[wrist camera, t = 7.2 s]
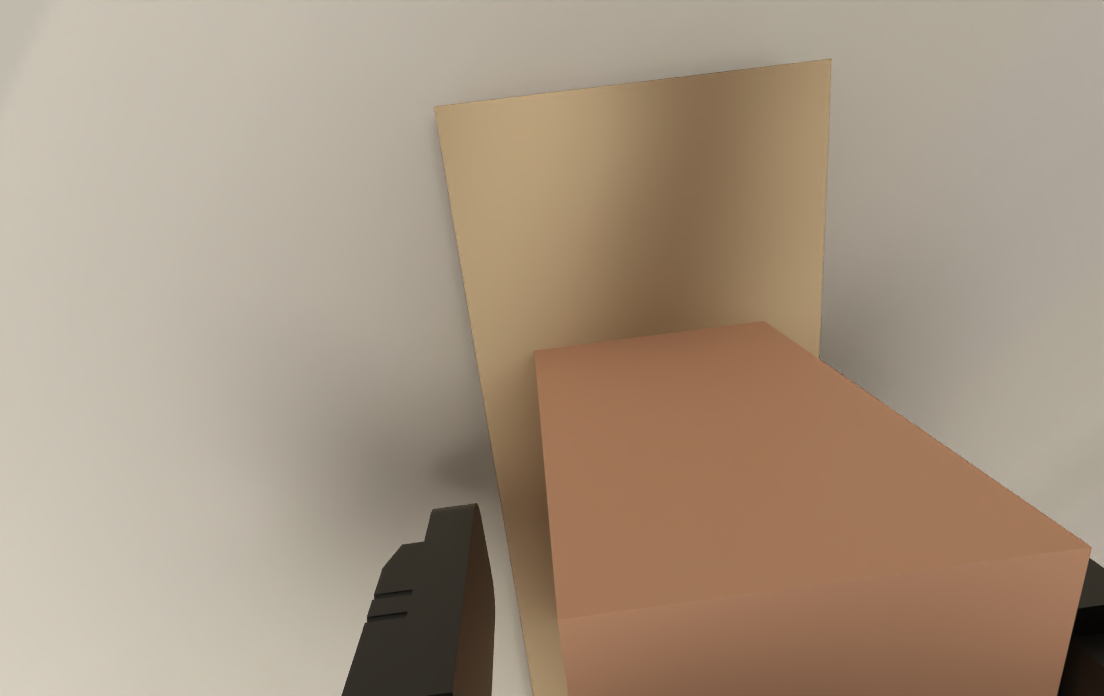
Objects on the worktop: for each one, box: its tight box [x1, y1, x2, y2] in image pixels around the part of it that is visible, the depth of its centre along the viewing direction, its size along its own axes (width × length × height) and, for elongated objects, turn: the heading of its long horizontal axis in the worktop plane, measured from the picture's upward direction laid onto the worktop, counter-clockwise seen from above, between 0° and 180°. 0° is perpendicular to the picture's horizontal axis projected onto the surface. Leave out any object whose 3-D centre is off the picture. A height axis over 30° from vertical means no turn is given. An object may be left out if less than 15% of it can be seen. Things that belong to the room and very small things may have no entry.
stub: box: [434, 59, 1092, 696], centre depth 9 cm, size 6×14×7 cm, turn 7°
